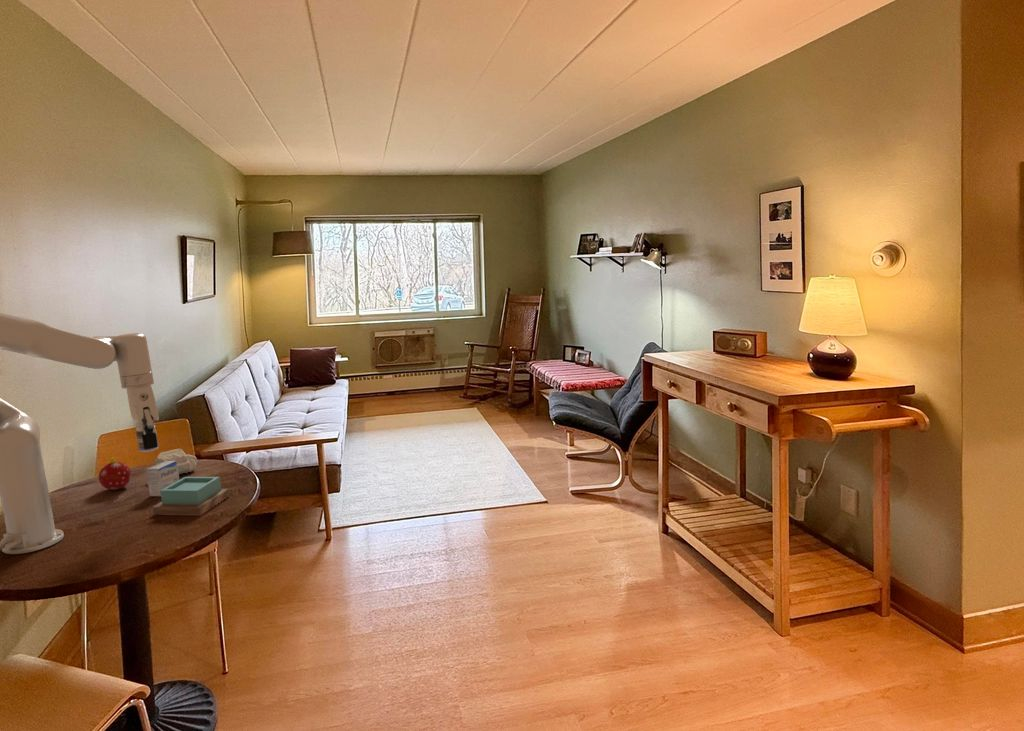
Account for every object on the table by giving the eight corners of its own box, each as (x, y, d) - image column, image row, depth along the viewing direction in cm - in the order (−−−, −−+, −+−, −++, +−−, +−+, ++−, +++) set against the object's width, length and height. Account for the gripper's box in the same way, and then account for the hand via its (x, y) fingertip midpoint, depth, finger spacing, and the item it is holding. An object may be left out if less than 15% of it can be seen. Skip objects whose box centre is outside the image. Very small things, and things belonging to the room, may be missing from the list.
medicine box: (162, 497, 191) (158, 469, 190) (149, 496, 192) (145, 468, 191) (180, 487, 199) (177, 460, 198) (168, 487, 200) (164, 460, 199)
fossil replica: (204, 470, 216) (181, 470, 219) (201, 445, 216) (178, 446, 219) (175, 479, 205) (151, 479, 208) (172, 453, 204) (148, 454, 207)
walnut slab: (200, 517, 176) (199, 507, 175) (154, 516, 178) (152, 506, 177) (229, 498, 189) (228, 488, 189) (186, 497, 192) (185, 488, 191)
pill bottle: (136, 450, 174) (130, 420, 173) (154, 446, 178) (149, 416, 176) (143, 453, 171) (138, 422, 170) (162, 448, 175) (157, 418, 173)
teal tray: (199, 504, 178) (197, 490, 177) (162, 504, 179) (160, 490, 178) (221, 489, 188) (219, 476, 188) (186, 489, 190) (184, 476, 189)
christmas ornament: (95, 494, 196) (90, 463, 194) (110, 485, 204) (105, 454, 203) (124, 493, 196) (119, 461, 195) (138, 483, 205) (133, 453, 203)
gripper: (160, 381, 167) (172, 448, 170) (145, 374, 180) (156, 437, 183) (128, 386, 162) (140, 455, 166) (114, 379, 175) (126, 443, 178)
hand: (148, 445), depth 174 cm, fingers closed on pill bottle, 4 cm apart
